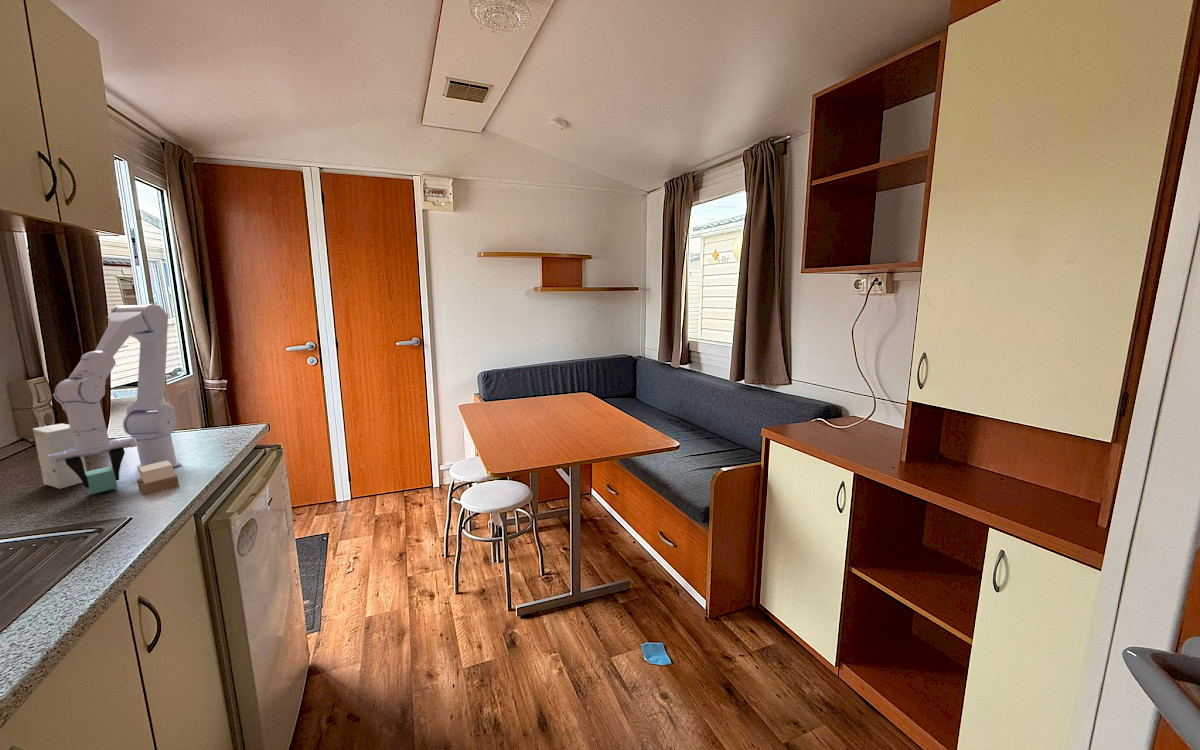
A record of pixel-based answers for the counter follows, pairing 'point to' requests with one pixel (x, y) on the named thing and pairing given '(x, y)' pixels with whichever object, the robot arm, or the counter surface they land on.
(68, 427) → the skincare box
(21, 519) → the counter surface
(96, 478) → the teal block
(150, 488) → the walnut base slab
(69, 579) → the counter surface
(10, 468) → the counter surface
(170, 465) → the cream middle slab
